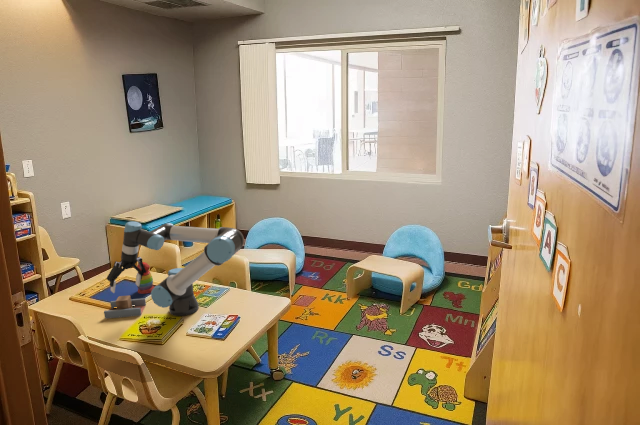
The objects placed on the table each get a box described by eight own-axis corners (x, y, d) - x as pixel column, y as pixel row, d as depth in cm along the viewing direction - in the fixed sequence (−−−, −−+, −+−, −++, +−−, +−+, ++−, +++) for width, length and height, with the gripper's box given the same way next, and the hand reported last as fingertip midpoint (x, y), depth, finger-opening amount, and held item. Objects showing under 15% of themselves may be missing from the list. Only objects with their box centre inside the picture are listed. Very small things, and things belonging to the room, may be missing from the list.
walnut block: (132, 308, 251) (130, 295, 249) (129, 313, 246) (127, 300, 244) (120, 309, 251) (118, 296, 249) (117, 314, 245) (115, 301, 243)
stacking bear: (158, 290, 274) (155, 262, 269) (142, 295, 267) (138, 267, 262) (150, 285, 281) (146, 257, 276) (134, 290, 274) (129, 262, 269)
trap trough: (146, 304, 255) (145, 298, 254) (140, 315, 243) (139, 308, 242) (112, 307, 253) (110, 301, 252) (105, 318, 241) (103, 311, 240)
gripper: (148, 244, 242) (143, 279, 249) (101, 252, 222) (97, 290, 229) (156, 250, 238) (151, 285, 245) (109, 259, 218) (105, 298, 225)
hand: (125, 288), depth 237 cm, fingers open, 13 cm apart
